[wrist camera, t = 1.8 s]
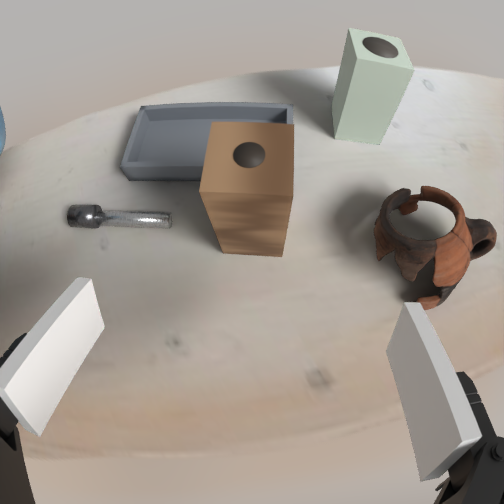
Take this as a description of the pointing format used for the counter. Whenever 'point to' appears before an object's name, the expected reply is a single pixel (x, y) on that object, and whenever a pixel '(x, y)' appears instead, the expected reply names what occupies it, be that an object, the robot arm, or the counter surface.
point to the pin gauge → (115, 218)
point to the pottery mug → (433, 242)
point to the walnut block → (249, 185)
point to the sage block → (369, 86)
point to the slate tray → (186, 136)
